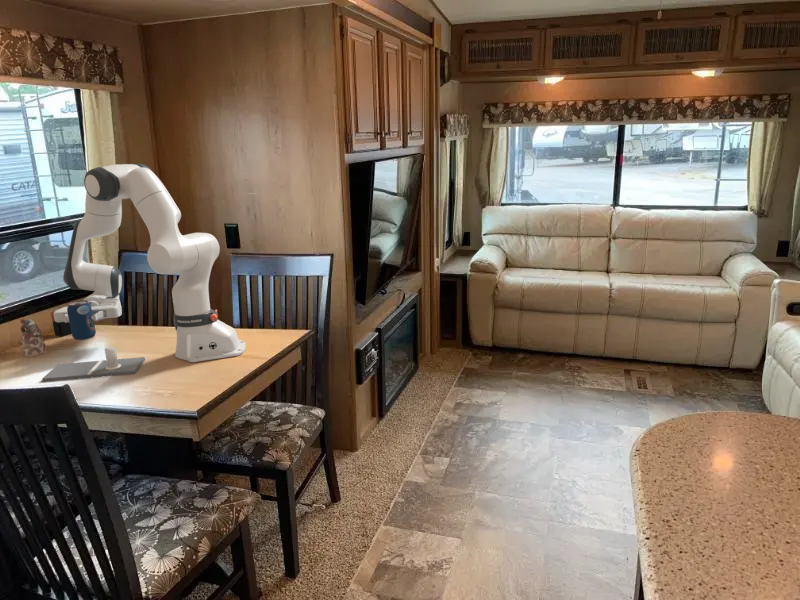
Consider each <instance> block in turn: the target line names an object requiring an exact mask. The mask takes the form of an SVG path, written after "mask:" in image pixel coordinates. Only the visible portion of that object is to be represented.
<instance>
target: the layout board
mask: <svg viewBox="0 0 800 600" xmlns="http://www.w3.org/2000/svg"><path fill="white" fill-rule="evenodd" d="M104 354H105V359H106V360H104V359H99V360H93V361H92V360H91V361H81V362H78V361H77V362H69V363H68V362H67V363H57V365H56V366H55V367H53V368H52V369H51V370H50V371H49V372H48V373H47V374H46V375H44V376H43V377H42V379H41V381H42V382H43V383H46V382H55V381H68V380H69V379H70V380H79V379H78V378H81V379H91V377H93V378H102V376H105V377H114V376H125V375H127V376H128V375H136V373H137V371H138V370H139V369H140V368H141V367H142V366H143V364H144V362H145V361H146V358H145V357H144V356H141V357H129V358H118V355H117V350H116V347H115V346H109V347H106V348H104Z"/></svg>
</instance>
